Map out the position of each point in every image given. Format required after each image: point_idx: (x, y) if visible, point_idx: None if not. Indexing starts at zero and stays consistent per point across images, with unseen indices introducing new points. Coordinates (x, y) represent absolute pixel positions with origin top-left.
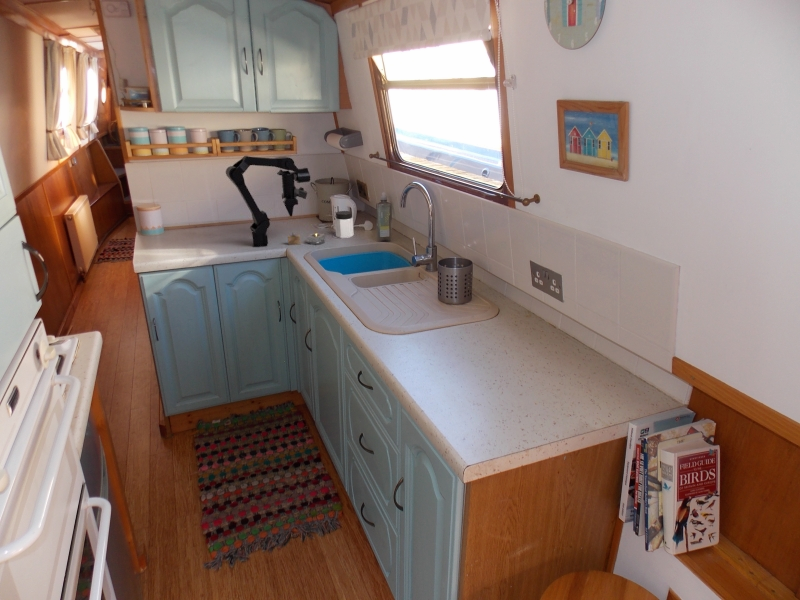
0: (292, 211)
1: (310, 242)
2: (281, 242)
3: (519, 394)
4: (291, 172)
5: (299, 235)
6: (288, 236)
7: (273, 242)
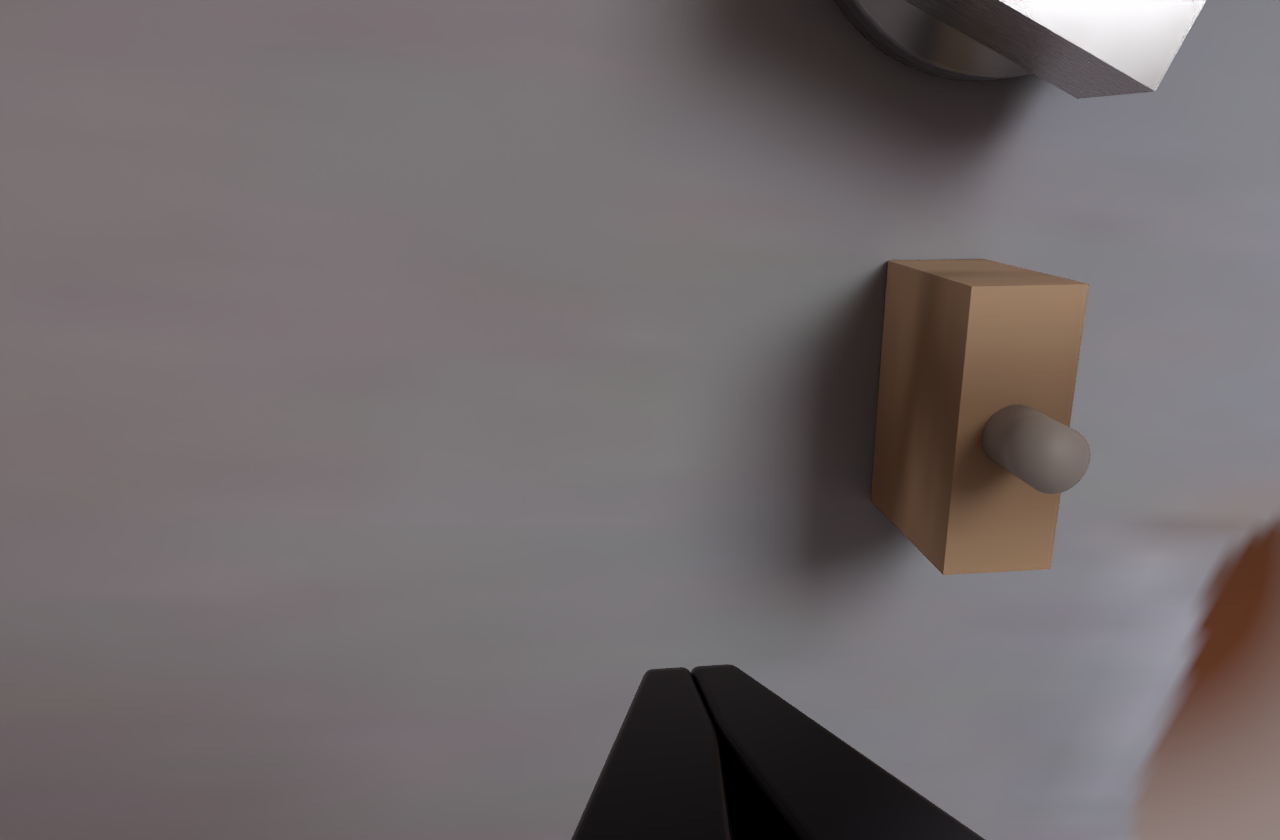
0: (908, 811)
1: None
2: (705, 621)
3: None
4: None
5: (1023, 289)
6: (1003, 558)
7: None
